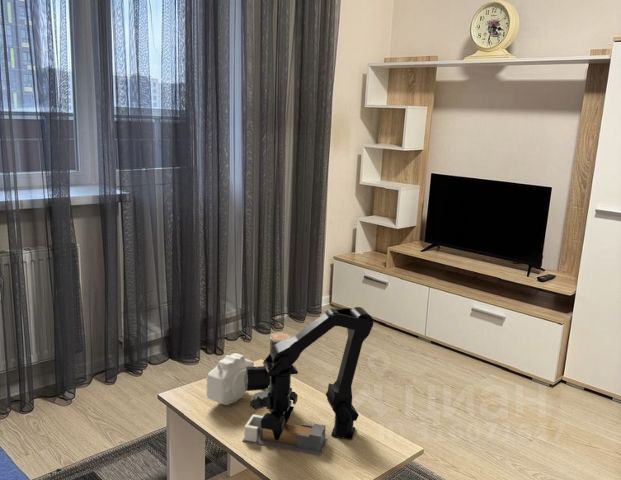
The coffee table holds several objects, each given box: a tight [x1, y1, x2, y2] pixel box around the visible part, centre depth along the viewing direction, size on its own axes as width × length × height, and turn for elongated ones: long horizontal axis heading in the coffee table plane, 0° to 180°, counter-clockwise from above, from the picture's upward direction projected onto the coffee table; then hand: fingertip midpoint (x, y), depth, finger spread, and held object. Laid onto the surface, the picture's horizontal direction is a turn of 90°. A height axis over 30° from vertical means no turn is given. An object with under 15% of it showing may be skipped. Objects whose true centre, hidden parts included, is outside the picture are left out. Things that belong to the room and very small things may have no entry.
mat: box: [242, 430, 327, 457], centre depth 173 cm, size 8×24×1 cm, turn 77°
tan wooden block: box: [260, 423, 312, 445], centre depth 173 cm, size 4×15×4 cm, turn 77°
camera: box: [206, 353, 255, 406], centre depth 193 cm, size 11×18×16 cm, turn 148°
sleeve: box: [297, 423, 326, 452], centre depth 171 cm, size 6×7×5 cm
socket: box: [243, 413, 264, 442], centre depth 175 cm, size 7×4×4 cm, turn 167°
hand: (278, 435), depth 173 cm, fingers closed on tan wooden block, 4 cm apart
